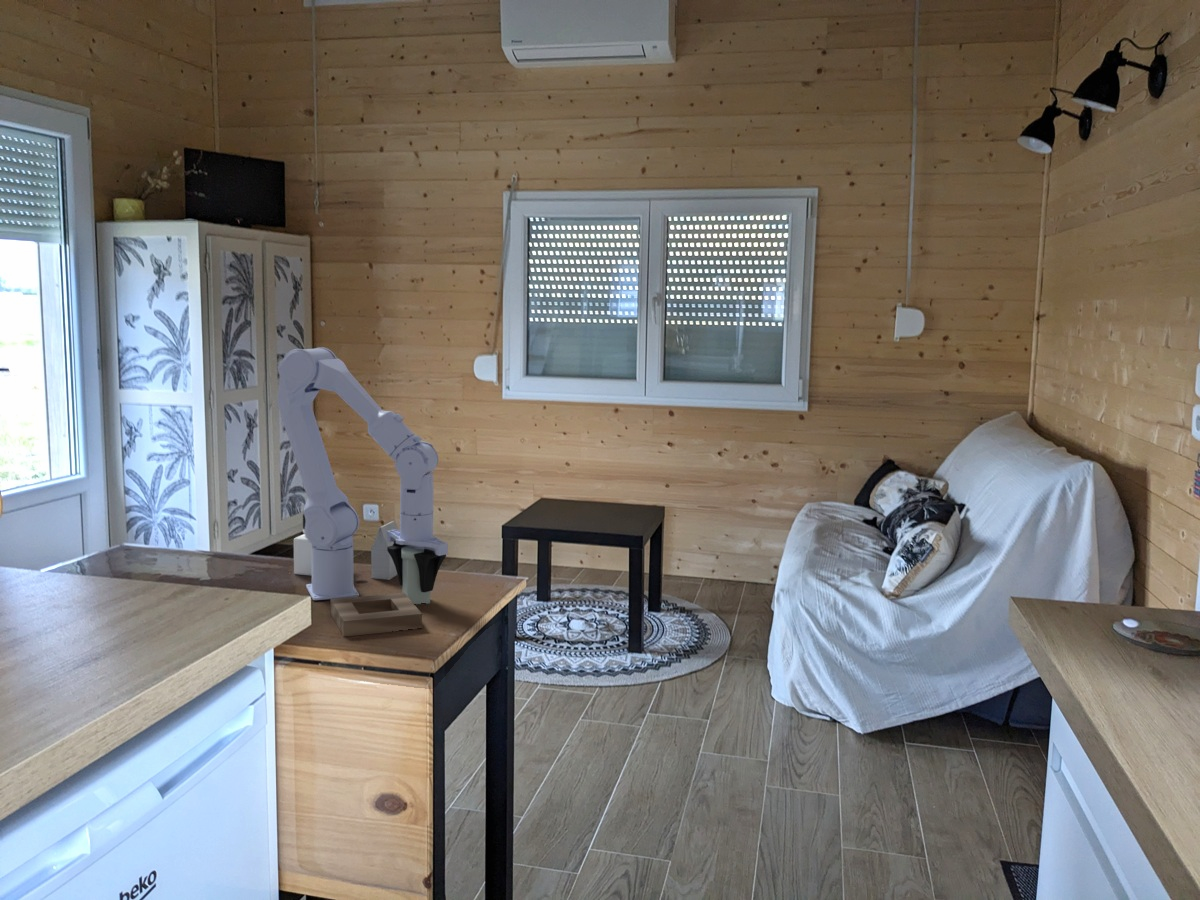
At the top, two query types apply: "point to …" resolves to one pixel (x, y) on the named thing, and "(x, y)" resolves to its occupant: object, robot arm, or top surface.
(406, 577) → the green peg
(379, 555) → the grey gabled block
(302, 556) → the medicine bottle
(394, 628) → the walnut holder
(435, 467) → the robot arm
